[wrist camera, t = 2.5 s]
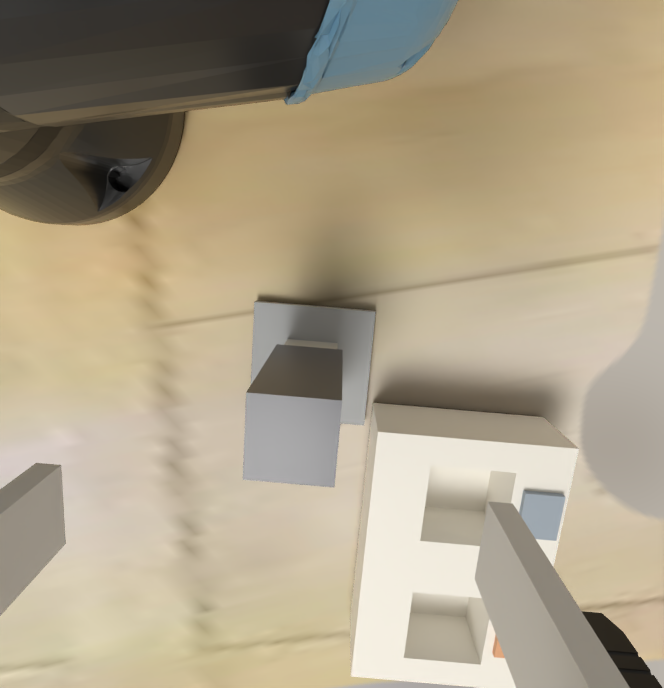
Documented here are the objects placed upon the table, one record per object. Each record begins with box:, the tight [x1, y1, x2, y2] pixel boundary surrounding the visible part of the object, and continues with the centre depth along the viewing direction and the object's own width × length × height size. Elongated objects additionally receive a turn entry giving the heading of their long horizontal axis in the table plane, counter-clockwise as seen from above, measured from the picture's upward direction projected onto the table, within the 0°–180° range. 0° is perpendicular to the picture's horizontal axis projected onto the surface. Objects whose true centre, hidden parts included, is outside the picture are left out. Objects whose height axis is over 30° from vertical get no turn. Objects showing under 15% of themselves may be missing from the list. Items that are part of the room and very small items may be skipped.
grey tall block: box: [243, 339, 343, 487], centre depth 26 cm, size 4×4×12 cm
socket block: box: [350, 403, 579, 688], centre depth 32 cm, size 18×12×5 cm, turn 175°
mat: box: [251, 301, 376, 425], centre depth 32 cm, size 8×8×1 cm
